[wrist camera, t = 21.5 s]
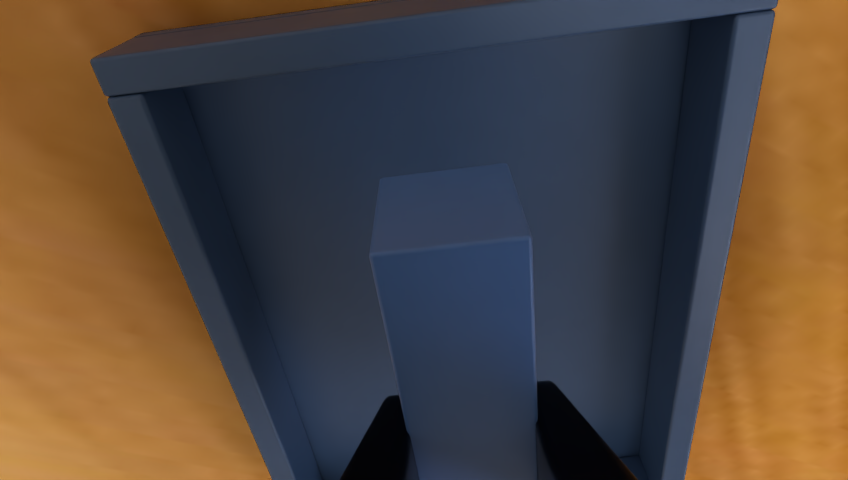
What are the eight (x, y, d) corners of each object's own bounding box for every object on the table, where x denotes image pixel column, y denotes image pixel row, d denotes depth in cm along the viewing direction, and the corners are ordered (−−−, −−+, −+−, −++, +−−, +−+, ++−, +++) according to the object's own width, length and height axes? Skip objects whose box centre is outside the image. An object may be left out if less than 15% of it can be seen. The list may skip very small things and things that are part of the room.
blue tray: (652, 453, 16) (678, 515, 15) (311, 483, 17) (300, 546, 15) (723, -48, 9) (786, -37, 8) (140, 33, 10) (86, 59, 8)
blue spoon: (323, 183, 8) (295, 262, 6) (566, 154, 8) (608, 227, 6) (407, 523, 12) (405, 625, 10) (563, 510, 12) (587, 613, 10)
